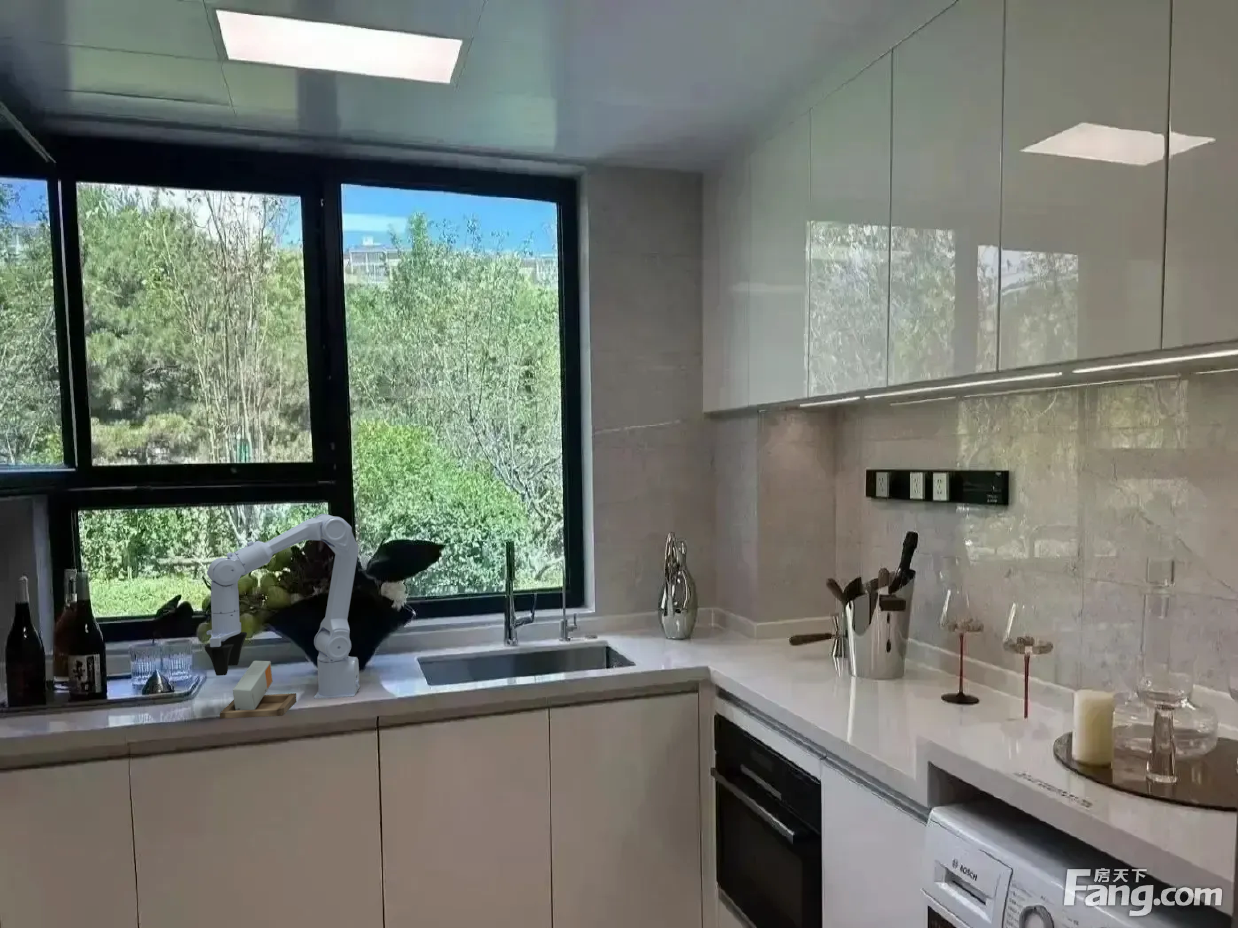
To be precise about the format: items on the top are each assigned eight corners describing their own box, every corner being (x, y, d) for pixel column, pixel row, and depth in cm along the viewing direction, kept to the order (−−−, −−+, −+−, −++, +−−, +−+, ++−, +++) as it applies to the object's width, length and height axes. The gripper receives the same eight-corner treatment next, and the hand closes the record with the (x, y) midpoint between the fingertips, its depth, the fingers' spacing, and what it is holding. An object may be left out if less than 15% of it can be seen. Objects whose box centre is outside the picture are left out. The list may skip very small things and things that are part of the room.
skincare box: (273, 681, 198) (253, 712, 187) (256, 681, 198) (234, 712, 187) (271, 660, 196) (250, 690, 185) (253, 659, 196) (231, 689, 185)
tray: (296, 703, 195) (296, 693, 195) (283, 720, 183) (282, 709, 183) (237, 706, 193) (237, 696, 193) (220, 724, 182) (219, 713, 182)
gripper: (218, 604, 193) (220, 661, 194) (194, 619, 178) (196, 680, 179) (249, 603, 194) (251, 660, 194) (228, 617, 179) (230, 678, 180)
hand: (227, 669), depth 187 cm, fingers open, 7 cm apart
